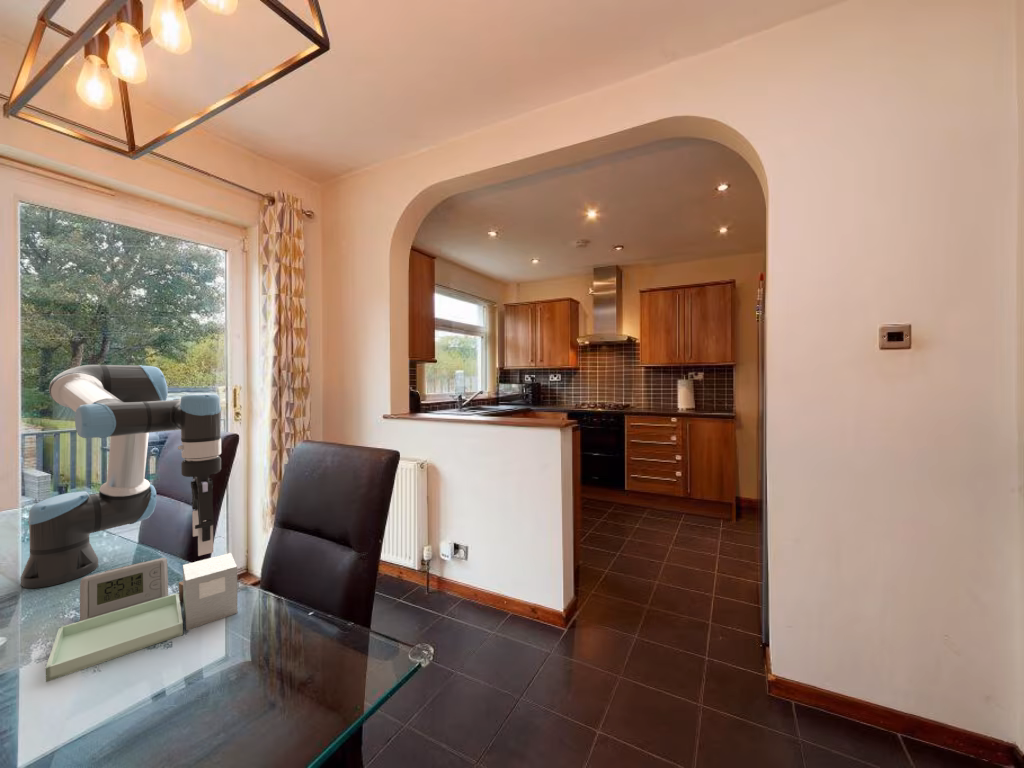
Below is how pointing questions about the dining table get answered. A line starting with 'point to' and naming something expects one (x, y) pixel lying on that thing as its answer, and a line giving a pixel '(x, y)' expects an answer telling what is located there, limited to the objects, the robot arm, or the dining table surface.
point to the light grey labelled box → (209, 590)
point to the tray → (114, 635)
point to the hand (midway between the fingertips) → (202, 543)
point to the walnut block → (181, 591)
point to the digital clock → (123, 587)
